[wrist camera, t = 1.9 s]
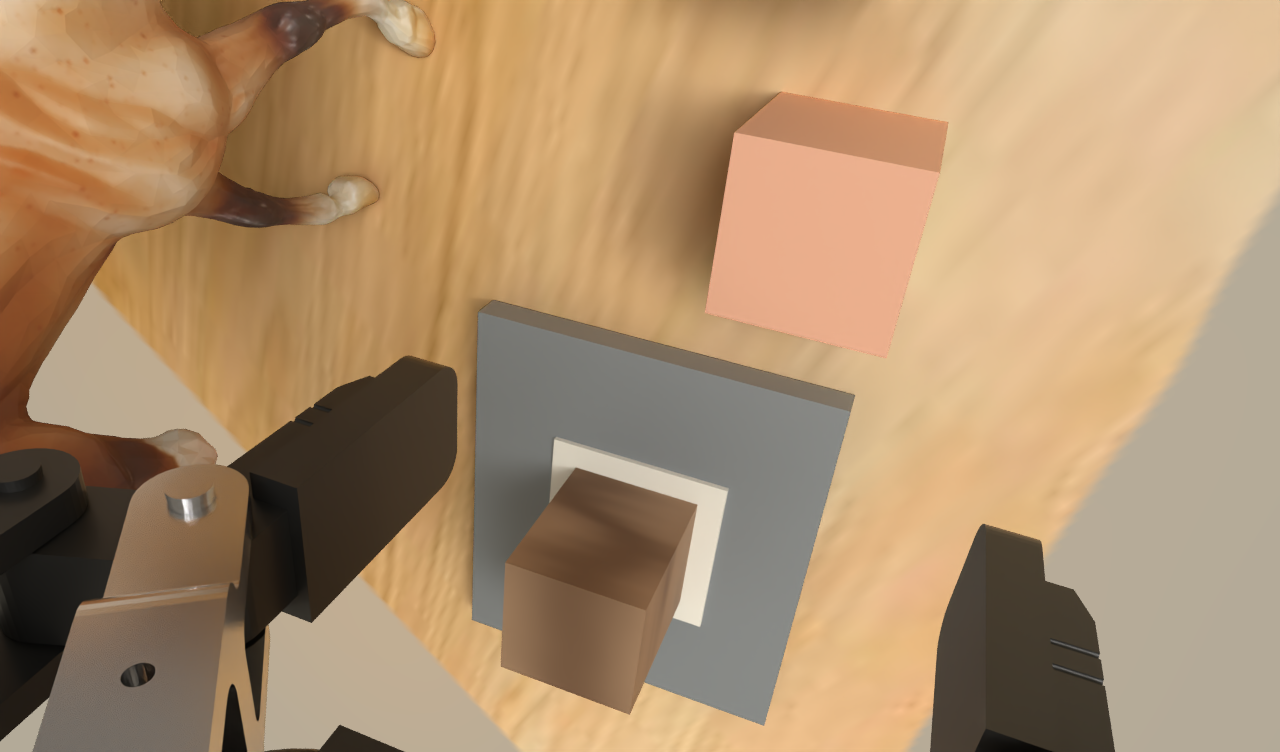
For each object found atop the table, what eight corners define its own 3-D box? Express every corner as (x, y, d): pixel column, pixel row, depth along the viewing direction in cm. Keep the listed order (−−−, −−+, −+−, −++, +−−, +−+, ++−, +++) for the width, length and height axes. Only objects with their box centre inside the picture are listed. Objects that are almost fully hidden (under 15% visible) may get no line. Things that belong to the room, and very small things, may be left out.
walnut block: (567, 563, 36) (500, 666, 31) (575, 467, 34) (505, 562, 29) (680, 601, 35) (629, 714, 30) (697, 504, 33) (645, 610, 28)
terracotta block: (753, 244, 29) (705, 312, 24) (781, 91, 26) (734, 132, 21) (903, 279, 28) (886, 358, 23) (948, 122, 25) (939, 172, 20)
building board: (484, 602, 41) (470, 622, 40) (493, 299, 33) (475, 313, 32) (769, 704, 38) (763, 729, 37) (855, 395, 30) (849, 414, 29)
